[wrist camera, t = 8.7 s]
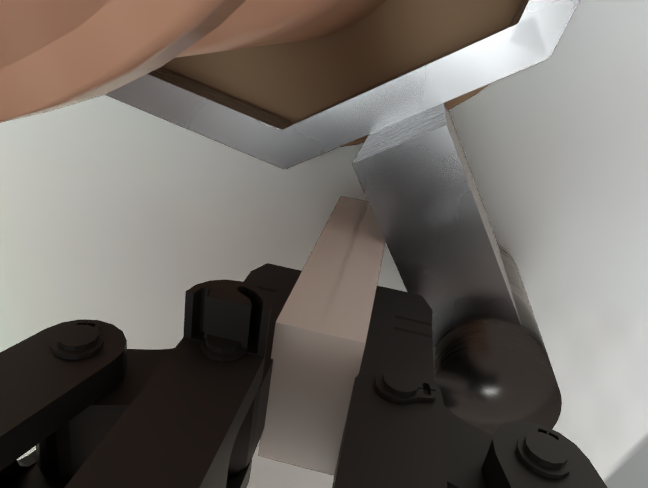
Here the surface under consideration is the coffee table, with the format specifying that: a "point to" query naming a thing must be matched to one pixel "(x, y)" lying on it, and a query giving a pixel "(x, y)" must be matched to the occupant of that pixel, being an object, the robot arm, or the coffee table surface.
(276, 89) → the base plate
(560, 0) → the collar
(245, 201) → the coffee table surface
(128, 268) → the coffee table surface
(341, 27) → the terracotta mug
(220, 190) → the coffee table surface
